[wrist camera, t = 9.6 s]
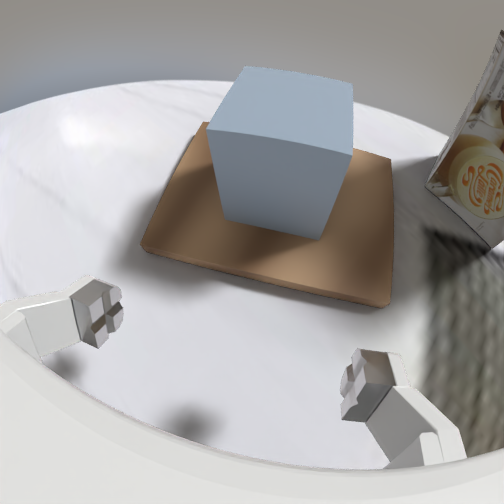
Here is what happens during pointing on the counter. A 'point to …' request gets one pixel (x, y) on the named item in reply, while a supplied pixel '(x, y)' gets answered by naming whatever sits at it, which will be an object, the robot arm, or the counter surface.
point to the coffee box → (477, 157)
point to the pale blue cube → (282, 149)
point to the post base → (279, 243)
